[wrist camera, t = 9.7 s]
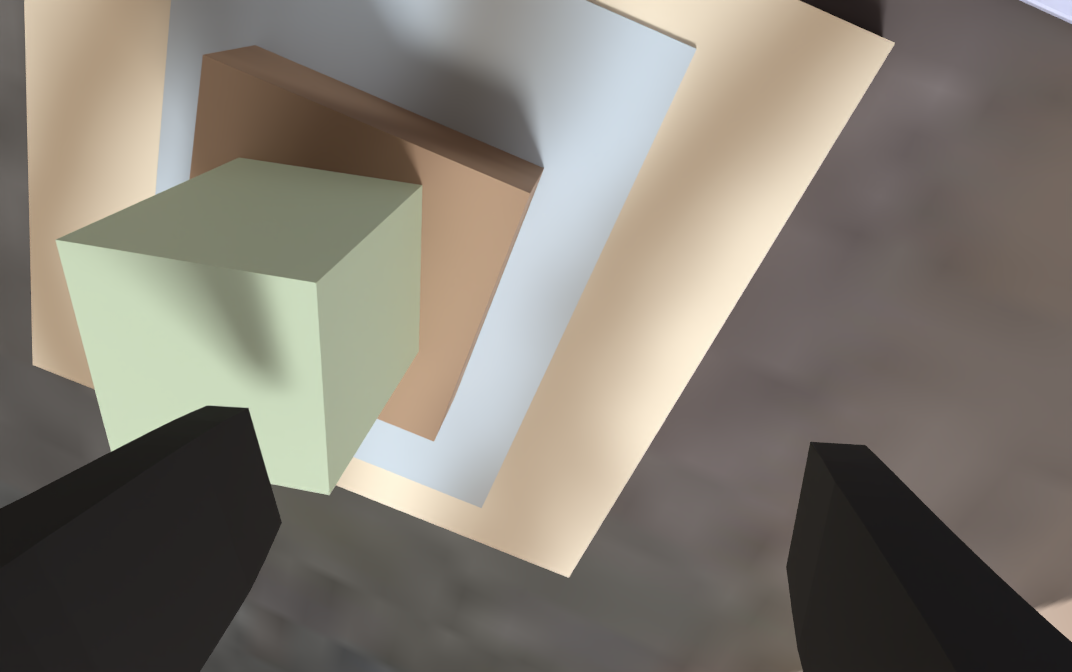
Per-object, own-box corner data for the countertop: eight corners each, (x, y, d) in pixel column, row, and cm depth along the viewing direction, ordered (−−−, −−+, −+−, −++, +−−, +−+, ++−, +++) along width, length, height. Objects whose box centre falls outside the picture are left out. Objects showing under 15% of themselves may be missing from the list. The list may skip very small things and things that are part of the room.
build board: (882, 39, 14) (933, 54, 11) (571, 558, 22) (560, 633, 20) (49, -333, 13) (-94, -405, 11) (52, 352, 21) (-28, 402, 19)
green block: (422, 185, 14) (316, 282, 9) (419, 350, 16) (329, 494, 11) (239, 157, 14) (55, 239, 10) (258, 323, 16) (111, 453, 12)
